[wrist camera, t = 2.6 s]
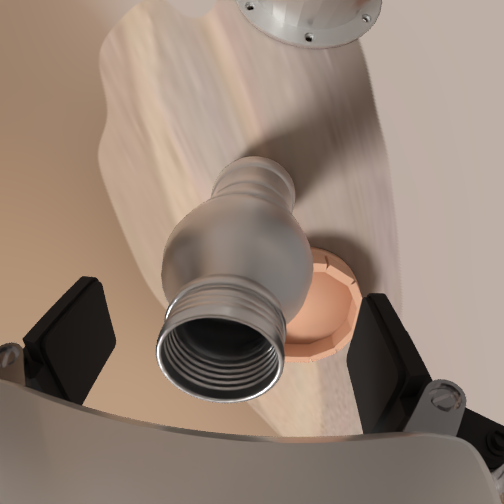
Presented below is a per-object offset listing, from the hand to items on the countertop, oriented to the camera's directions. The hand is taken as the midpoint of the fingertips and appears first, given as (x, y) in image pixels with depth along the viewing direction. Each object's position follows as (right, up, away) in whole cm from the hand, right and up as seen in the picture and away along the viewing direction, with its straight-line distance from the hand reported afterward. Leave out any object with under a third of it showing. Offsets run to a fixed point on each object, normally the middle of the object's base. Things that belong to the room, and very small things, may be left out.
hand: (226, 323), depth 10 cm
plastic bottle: (+1, +8, +16) cm, 18 cm away
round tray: (+6, -2, +20) cm, 21 cm away
